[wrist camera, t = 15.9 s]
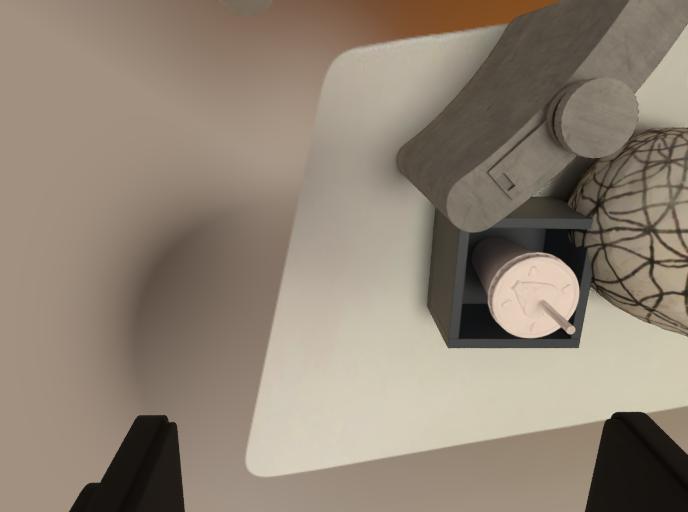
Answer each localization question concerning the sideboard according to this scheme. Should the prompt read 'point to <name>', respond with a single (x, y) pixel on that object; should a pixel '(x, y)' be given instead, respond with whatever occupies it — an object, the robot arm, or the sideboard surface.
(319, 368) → the sideboard surface
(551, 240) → the bin
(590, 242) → the sculpture
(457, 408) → the sideboard surface
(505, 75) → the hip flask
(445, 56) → the sideboard surface
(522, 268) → the smoothie
